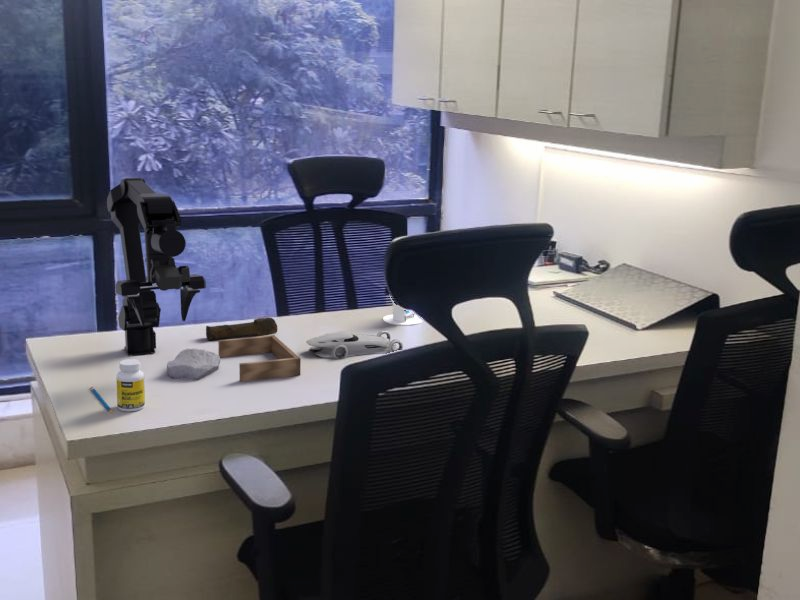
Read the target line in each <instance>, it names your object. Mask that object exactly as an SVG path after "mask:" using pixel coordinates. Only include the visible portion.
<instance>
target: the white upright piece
mask: <svg viewBox="0 0 800 600" xmlns="http://www.w3.org/2000/svg"><path fill="white" fill-rule="evenodd" d="M389 297H390V301H391V302H392V314H388V315H385V316H384V317H382V318H383V319H382V320H383V322H385V323H386V324H389V325H392V326H393V325H395V326H406V327H407V326H409V327H410V326H416V325H420V324H422V323H423V322H424V320H423V321H422V320H421V319H419V318H418V317H417V316H418V315H415V313H414V314H413V313H411V312H409V311H406V310H403V309H401V308H400V307H398V306H397V305H396V304H395V303H394V301H393V300H392V298H391V296H390V295H389Z"/></svg>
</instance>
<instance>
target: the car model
mask: <svg viewBox="0 0 800 600" xmlns="http://www.w3.org/2000/svg"><path fill="white" fill-rule="evenodd" d="M384 334H385V335H386V337H384V336H383V335H384ZM391 338H392V337H391V333H390V331H387V330H386V329H385V330H384V329H383V330H382V329H381V330H380V331H379V332H378V333H377V334H376V335H374V334H361V333H360V334H354V333H351V332H349V331H335V332H329V333H325V334H322V335H319V336H315V337H312V338H310V339H307V340H306V341H305V343H306V344H307V345H308V346H310V347H309V348H310V351H313V352H314V355H316V356H317V357H319V358H324V359H344V358H350V357H354V356H355V357H356V356H362V355H363V356H365V355H375V354H391V353H390V352H394V351H397V350H402V351H403V349H404V345H403V342H402V341H401V339H400V340H399V339H392V340H391ZM396 344H398V346H397V345H396Z"/></svg>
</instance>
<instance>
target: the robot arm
mask: <svg viewBox="0 0 800 600" xmlns="http://www.w3.org/2000/svg"><path fill="white" fill-rule="evenodd" d="M107 195H108V196H107V199H106V207H107V211H108V212H109V213H110V217H111V221H112V223H114V224H115V226H116V227H117V228H118V229H119V235H120V239H121V248H122V256H123V263H124V270H125V279H123V280H122V279H120V280H117V282H116V283H115V294H117V295H119V296H121V297H123V298H122V299H121V300H122V306H121V308H120V310H119V315H118V317H117V319H118V326H119V328H120V329H121V330H123V331H124V339H125V340H124V341H125V346H124V348H123V349H124V351H125V352H126V355H128V356H137V355H149V354H155V353H156V349H157V336H156V334H157V333H156V331H155V330H154V328H159V325H160V321H161V320H160V319H161V311H162V309H161V307H160V304H159V302H157V295H156V292H155V291H154V290H160V291H162V292H163V291H169V290H175V291H176V290H180V291H179V292H180V293H179V295H180V316H181V321H182V322H186V319H187V316H188V313H189V310H190V305H191V303H192V301H193V299H194V297H195V296H196V294H200V293H201V289H202V290H203V289H206V288H207V282H206V278H205V277H204V276H203V275H201V274H196V273H195V274H191V273H190V272H191V271H190V267H189V266H188V265H179V266H178V267H177V266H176V260H175V257H178V256H180V255H181V254H182V253H183V252H184V251H185V249H186V244H187V242H186V239H185V236H184V235H183V234H182V232H180V231H178V230H177V229H176V228H180V227H182V224H181V223H182V217H181V215H180V211H179V210H178V207H177V205H176V202H175V201H174V200H173V198H172V197H171V196H170V195H168V194H164V193H156V192H155V191H154V190H153V189H152V188H151V187H150V186H149V185H148V183H146V181H145V179H144V178H141V177H124V178H123V179H121V180H120V183H119V184H117V185H116V186H115V187H113V188H112V189H110V190H109V193H108V194H107ZM140 225H142V228H143V231H144V244H145V245H144V246H145V257H144V254H143V253H144V251H143V245H142V238H141V231H140ZM144 261H145V262H144ZM145 263H146V268H145Z"/></svg>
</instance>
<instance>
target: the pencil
mask: <svg viewBox="0 0 800 600" xmlns="http://www.w3.org/2000/svg"><path fill="white" fill-rule="evenodd" d="M89 389H90V390H91V392H92V393H93V394H94V395H95V398H97V399H98V400H99V402H100V403H101V404H102V406H103V407H104V408H105V410H106V411H107V412H108V413H110V414H111V415H114V412H113V410H112V409H111V407H110V406H109V405H108V404H107V402H106V401H105V399H104V398H103V397H102V396H101V395H100V393H99V392H98V391H97V389H95V387H94V386H90V388H89Z"/></svg>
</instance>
